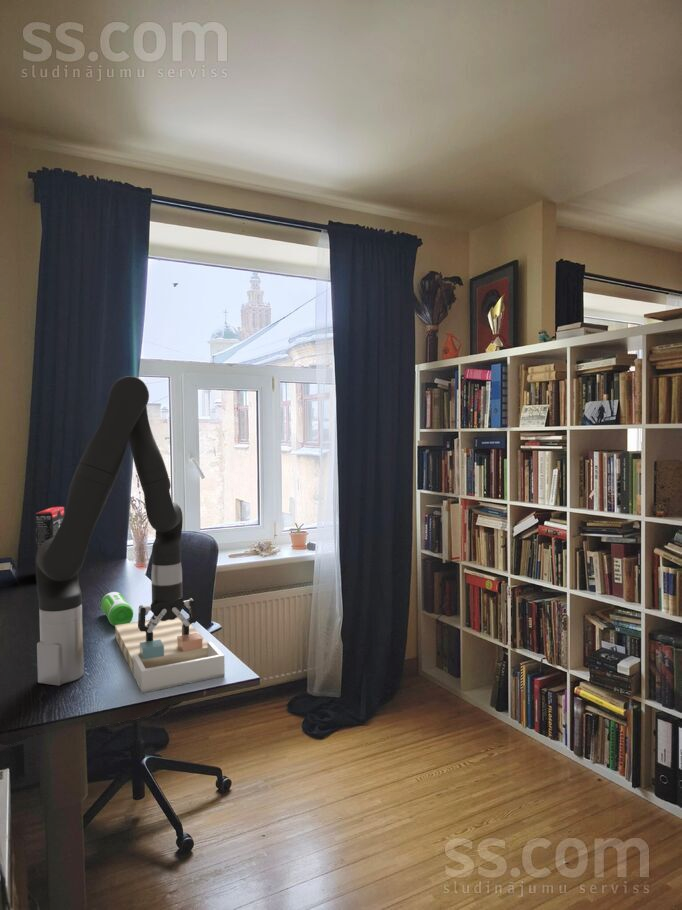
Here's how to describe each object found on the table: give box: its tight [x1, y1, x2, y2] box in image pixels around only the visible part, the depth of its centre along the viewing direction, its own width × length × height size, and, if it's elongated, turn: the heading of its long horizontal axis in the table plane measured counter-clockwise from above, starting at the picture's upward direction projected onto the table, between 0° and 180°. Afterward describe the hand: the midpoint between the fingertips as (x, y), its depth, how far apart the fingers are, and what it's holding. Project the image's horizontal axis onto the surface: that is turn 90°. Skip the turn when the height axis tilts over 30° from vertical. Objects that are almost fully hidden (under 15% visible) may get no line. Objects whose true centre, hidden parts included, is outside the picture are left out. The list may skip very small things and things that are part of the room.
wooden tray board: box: [114, 617, 208, 676], centre depth 160 cm, size 30×19×4 cm, turn 29°
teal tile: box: [140, 639, 164, 659], centre depth 147 cm, size 5×5×2 cm
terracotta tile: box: [177, 633, 203, 652], centre depth 152 cm, size 5×5×2 cm
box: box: [133, 640, 226, 694], centre depth 142 cm, size 11×19×5 cm, turn 119°
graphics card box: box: [34, 506, 65, 582], centre depth 239 cm, size 17×7×27 cm, turn 10°
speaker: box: [100, 591, 134, 627], centre depth 184 cm, size 18×7×8 cm, turn 30°
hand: (168, 642), depth 152 cm, fingers open, 8 cm apart
